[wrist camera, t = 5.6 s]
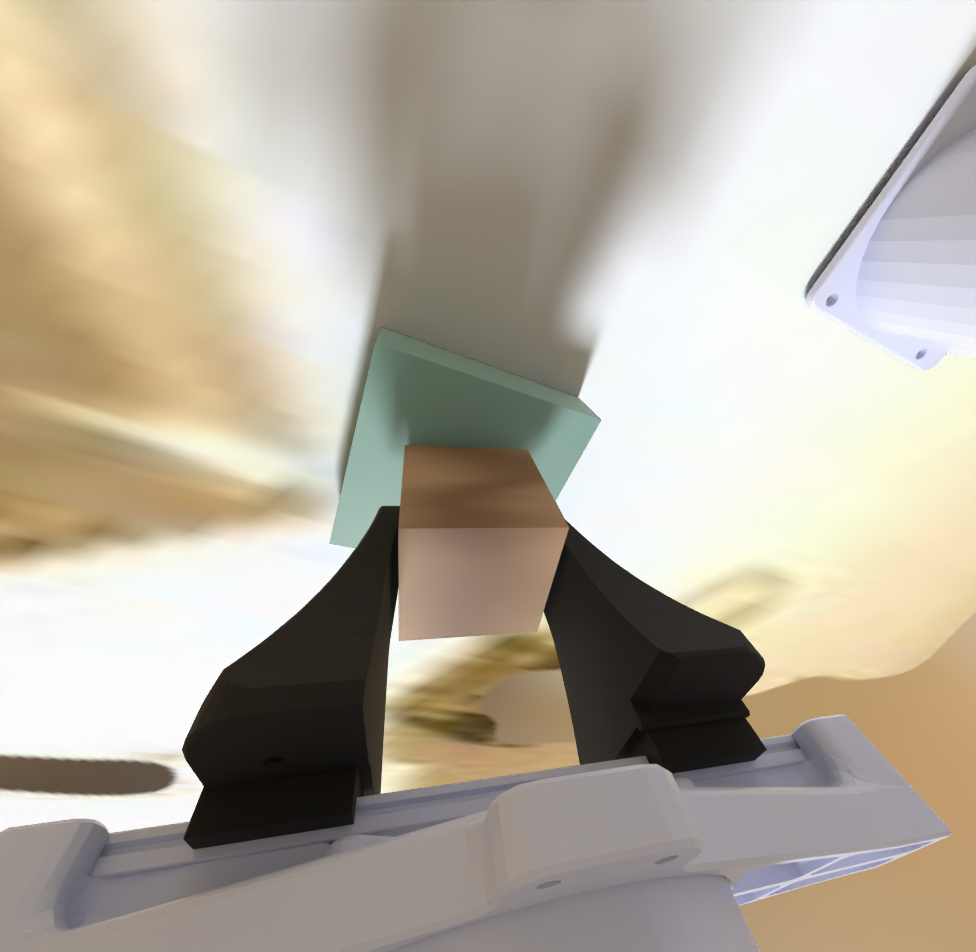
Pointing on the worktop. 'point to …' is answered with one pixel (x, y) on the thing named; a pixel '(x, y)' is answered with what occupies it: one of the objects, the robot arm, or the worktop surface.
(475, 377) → the base block
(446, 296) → the worktop surface
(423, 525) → the walnut cube
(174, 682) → the worktop surface
